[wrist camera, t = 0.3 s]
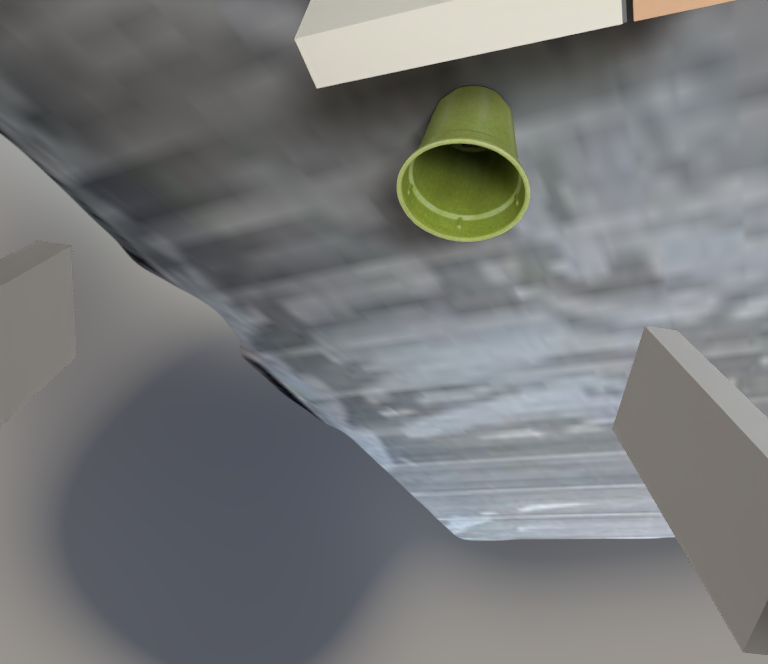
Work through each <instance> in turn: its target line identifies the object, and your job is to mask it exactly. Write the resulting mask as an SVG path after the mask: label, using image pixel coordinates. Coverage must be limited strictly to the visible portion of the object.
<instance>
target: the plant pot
mask: <svg viewBox="0 0 768 664" xmlns="http://www.w3.org/2000/svg"><path fill="white" fill-rule="evenodd" d="M462 144H473V145H478V146H477V147H467V146H463V145H462ZM397 195H398V200H399V202H400V205H401V207H402V208H403V210H404V212H405V213H406V215H407V216H408V217H409V218H410V219H411V220H412V221H413V222H414V223H415V224H416V225H417V226H419V227H420V228H421V229H423V230H425V231H427V232H428V233H431V234H433V235H435V236H438V237H440V238H444V239H447V240H453V241H461V242H472V241H481V240H486V239H490V238H492V237H495V236H498V235H500V234H502V233H504V232H506V231H508V230H509V229H511V228H512V227H513V226H514V225H516V224H517V223H518V222H519V221H520V219H521V218H522V217H523V215H524V214H525V212H526V210H527V208H528V205H529V201H530V185H529V180H528V177H527V175H526V173H525V171H524V169H523V167H522V166H521V164H520V162H519V160H518V156H517V148H516V141H515V133H514V125H513V117H512V112H511V109H510V107H509V106H508V105H507V103H506V102H505V101H504V100H503V99H502V97H501V96H500V95H499V94H498V93H496V92H495V91H493V90H491V89H488V88H485V87H481V86H465V87H460V88H458V89H456V90H454V91H453V92H451V93H450V94H448V95H447V96H445V97H444V98H442V99H441V100H440V102H439V103H438V105H437V107H436V109H435V111H434V113H433V116H432V118H431V120H430V123H429V125H428V128H427V130H426V132H425V135H424V137H423V139H422V142H421V144H420V146H419V147H418V149H417V150H416V151H415V152H413V153H412V154H411V155H410V156H409V157H408V158H407V159H406V161H405V162H404V164H403V165H402V167H401V169H400V172H399V174H398V178H397Z"/></svg>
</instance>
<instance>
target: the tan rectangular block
mask: <svg viewBox="0 0 768 664" xmlns="http://www.w3.org/2000/svg"><path fill="white" fill-rule="evenodd" d="M729 1H734V0H632V9H633V18H634V21H639V20H644V19H649V18H653V17H658V16H663V15H667V14H672V13H677V12H682V11H686V10H691V9H696V8H701V7H705V6H710V5H715V4H720V3H724V2H729Z"/></svg>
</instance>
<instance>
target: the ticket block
mask: <svg viewBox="0 0 768 664" xmlns="http://www.w3.org/2000/svg"><path fill="white" fill-rule="evenodd" d="M625 22H627V12H626V0H311V1H310V3H309V6H308V8H307V10H306V13H305V15H304V17H303V20H302V22H301V25H300V27H299V29H298V32H297V34H296V36H295V41H296V44H297V46H298V48H299V50H300V52H301V55H302V57H303V59H304V61H305V63H306V66H307V68H308V70H309V72H310V75H311V77H312V79H313V81H314V83H315V86H316V88H322V87H327V86H332V85H336V84H341V83H346V82H350V81H355V80H360V79H365V78H369V77H374V76H379V75H384V74H388V73H393V72H398V71H402V70H407V69H412V68H417V67H421V66H426V65H431V64H436V63H440V62H445V61H450V60H455V59H459V58H464V57H469V56H473V55H478V54H483V53H488V52H492V51H497V50H502V49H507V48H511V47H516V46H521V45H526V44H530V43H535V42H540V41H544V40H549V39H554V38H559V37H563V36H568V35H573V34H578V33H582V32H587V31H592V30H596V29H601V28H606V27H611V26H615V25H620V24H623V23H625Z"/></svg>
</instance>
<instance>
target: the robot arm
mask: <svg viewBox="0 0 768 664" xmlns="http://www.w3.org/2000/svg"><path fill="white" fill-rule="evenodd" d="M74 319H75V318H74V294H73V270H72V246H70V245H63V244H56V243H49V242H42V241H36V242H34V243H32V244H30V245H28V246H26V247H24V248H22V249H20V250H18V251H16V252H14V253H12V254H10V255H8V256H6V257H4V258H2V259H0V427H1V426H2V425H3V424H4V423H5V422H6V421H7V420H8V419H9V418H11V416H13V415H14V414H15V413H16V412H17V411H18V410H19V409H20V408H21V407H22V406H23V405H24V404H26V403H27V402H28V401H29V400H30V399H31V398H32V397H33V396H34V395H35V394H36V393H38V392H39V391H40V390H41V389H42V388H43V387H44V386H45V385H46V384H47V383H48V382H49V381H51V380H52V379H53V378H54V377H55V376H56V375H57V374H58V373H59V372H60V371H61V370H62V369H63V368H65V366H67V365H68V364H69V363H70V362H71V361H72V360H73V359H74V358H75V357H76V344H75V320H74ZM613 431H614V432H615V434H616V436H617V437H618V439H619V441H620V443H621V444H622V446H623V448H624V449H625V451H626V453H627V455H628V456H629V458H630V460H631V461H632V463H633V465H634V467H635V468H636V470H637V472H638V473H639V475H640V477H641V479H642V480H643V482H644V484H645V485H646V487H647V489H648V491H649V492H650V494H651V496H652V497H653V499H654V501H655V503H656V504H657V506H658V508H659V509H660V511H661V513H662V515H663V516H664V518H665V520H666V521H667V523H668V525H669V527H670V528H671V530H672V532H673V533H674V535H675V537H676V538H677V540H678V542H679V544H680V545H681V547H682V549H683V550H684V552H685V554H686V555H687V557H688V559H689V561H690V562H691V564H692V566H693V568H694V569H695V571H696V573H697V574H698V576H699V578H700V580H701V581H702V583H703V585H704V587H705V588H706V590H707V592H708V593H709V595H710V596H711V599H712V600H713V602H714V604H715V605H716V607H717V609H718V610H719V612H720V614H721V616H722V617H723V619H724V621H725V622H726V624H727V626H728V628H729V629H730V631H731V633H732V635H733V636H734V638H735V640H736V641H737V643H738V645H739V646H740V648H741V650H742V652H745V653H753V654H761V655H768V418H767V417H766V416H765V415H764V414H763V413H762V412H761V411H760V410H759V409H758V408H757V407H756V406H755V405H754V404H753V403H751V402H750V401H749V400H748V399H747V398H746V397H745V396H744V395H743V394H742V393H741V392H740V391H739V390H738V389H737V388H736V387H735V386H734V385H733V384H732V383H731V382H730V381H729V380H728V379H727V378H726V377H725V376H724V375H723V374H722V373H720V372H719V371H718V370H717V369H716V368H715V367H714V366H713V365H712V364H711V363H710V362H709V361H708V360H707V359H706V358H705V357H704V356H703V355H702V354H701V353H700V352H699V351H698V350H697V349H696V348H695V347H694V346H693V345H692V344H691V343H689V342H688V341H687V340H686V339H685V338H684V337H683V336H682V335H681V334H680V333H679V332H678V331H676V330H668V329H661V328H654V327H647V326H645V328H644V331H643V334H642V337H641V340H640V344H639V347H638V350H637V353H636V356H635V359H634V363H633V366H632V369H631V372H630V375H629V378H628V381H627V385H626V388H625V391H624V394H623V397H622V400H621V404H620V407H619V410H618V413H617V416H616V419H615V423H614V426H613Z"/></svg>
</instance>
